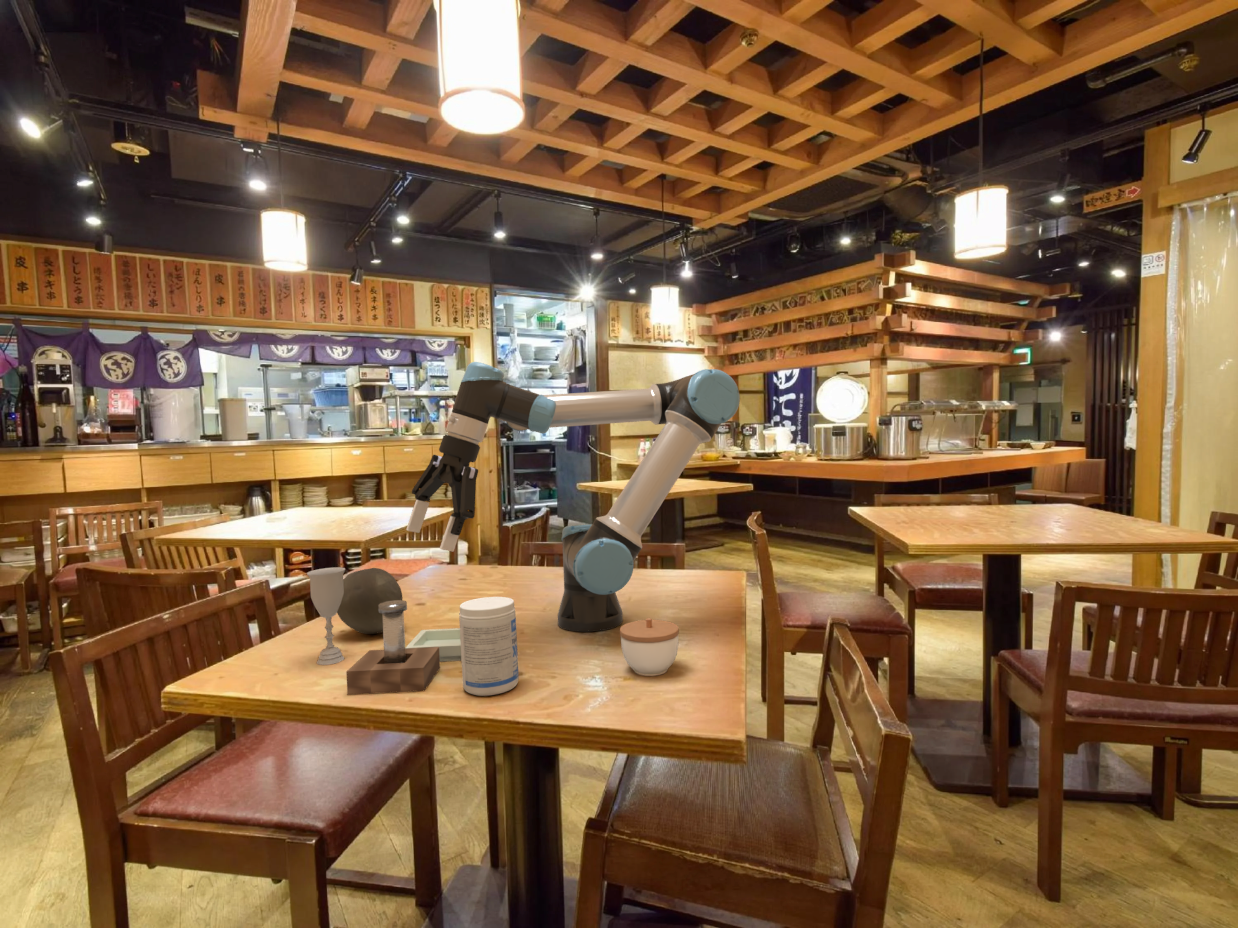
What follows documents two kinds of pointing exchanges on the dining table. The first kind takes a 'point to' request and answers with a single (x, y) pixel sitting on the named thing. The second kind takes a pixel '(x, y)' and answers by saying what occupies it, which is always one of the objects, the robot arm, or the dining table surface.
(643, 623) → the lidded jar
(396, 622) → the metal pin
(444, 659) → the tray
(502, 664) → the supplement tub
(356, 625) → the dark grey ball
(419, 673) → the block
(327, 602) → the chalice
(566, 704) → the dining table surface
